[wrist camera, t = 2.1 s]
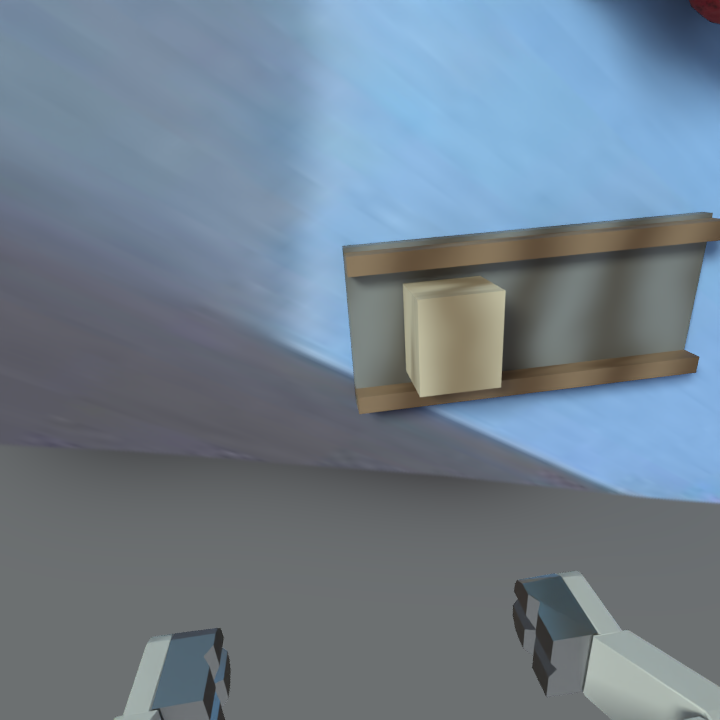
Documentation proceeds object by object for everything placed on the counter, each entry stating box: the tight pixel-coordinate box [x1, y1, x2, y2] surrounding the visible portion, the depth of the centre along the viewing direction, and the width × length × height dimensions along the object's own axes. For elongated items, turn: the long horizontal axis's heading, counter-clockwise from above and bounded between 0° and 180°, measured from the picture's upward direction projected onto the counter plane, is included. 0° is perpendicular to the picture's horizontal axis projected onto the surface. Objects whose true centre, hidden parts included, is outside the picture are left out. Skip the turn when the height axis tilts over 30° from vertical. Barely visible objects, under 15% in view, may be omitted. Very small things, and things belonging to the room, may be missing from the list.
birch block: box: [403, 276, 506, 397], centre depth 28 cm, size 5×6×4 cm
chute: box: [343, 212, 720, 414], centre depth 31 cm, size 24×11×2 cm, turn 94°
